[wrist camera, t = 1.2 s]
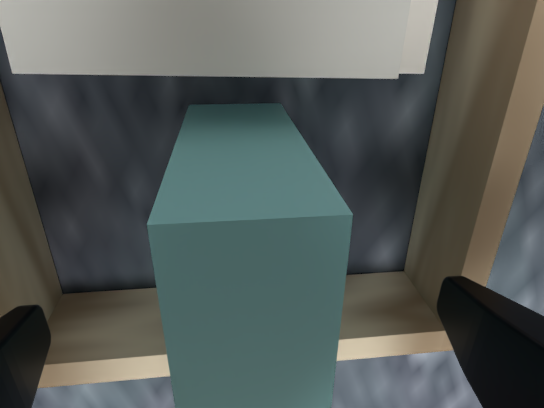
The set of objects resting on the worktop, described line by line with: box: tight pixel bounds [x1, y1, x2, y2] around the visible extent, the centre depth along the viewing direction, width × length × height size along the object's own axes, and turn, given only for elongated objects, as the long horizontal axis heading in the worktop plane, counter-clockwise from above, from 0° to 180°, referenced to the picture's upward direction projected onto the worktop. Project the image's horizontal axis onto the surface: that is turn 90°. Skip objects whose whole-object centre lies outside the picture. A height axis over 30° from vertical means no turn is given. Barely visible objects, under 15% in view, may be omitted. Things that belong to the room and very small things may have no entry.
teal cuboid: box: [147, 103, 353, 408], centre depth 11 cm, size 3×6×8 cm, turn 179°
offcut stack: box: [0, 0, 438, 79], centre depth 10 cm, size 11×3×4 cm, turn 88°
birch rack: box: [0, 0, 544, 388], centre depth 12 cm, size 16×14×4 cm
